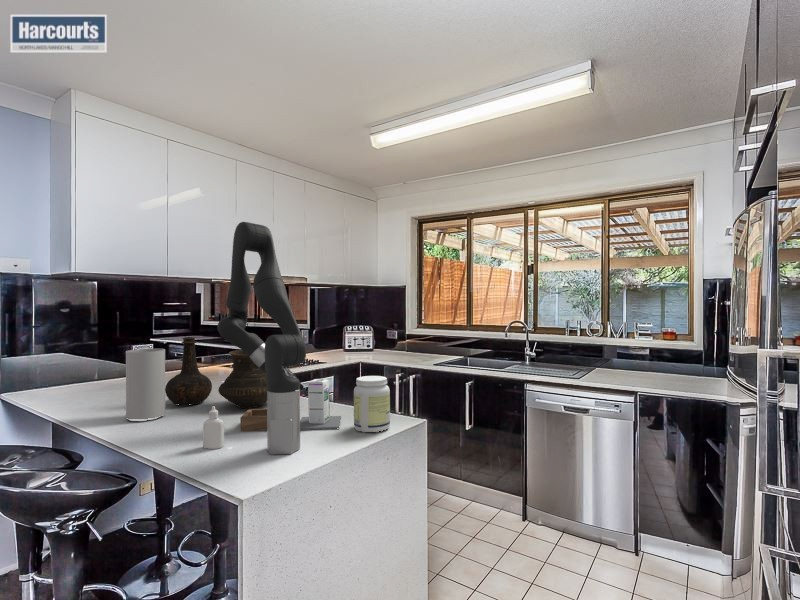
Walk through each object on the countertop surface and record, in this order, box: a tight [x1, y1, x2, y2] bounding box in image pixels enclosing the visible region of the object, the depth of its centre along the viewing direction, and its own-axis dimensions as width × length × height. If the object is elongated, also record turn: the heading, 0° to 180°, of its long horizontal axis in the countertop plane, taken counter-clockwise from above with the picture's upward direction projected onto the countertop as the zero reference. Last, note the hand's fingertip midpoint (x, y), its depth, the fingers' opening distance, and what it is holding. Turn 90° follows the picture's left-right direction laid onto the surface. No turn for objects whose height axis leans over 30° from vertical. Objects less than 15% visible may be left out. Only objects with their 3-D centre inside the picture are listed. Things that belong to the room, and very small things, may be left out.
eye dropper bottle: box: [202, 406, 225, 450], centre depth 127 cm, size 4×6×12 cm
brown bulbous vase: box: [165, 336, 213, 406], centre depth 182 cm, size 18×18×28 cm
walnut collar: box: [239, 408, 267, 432], centre depth 149 cm, size 11×11×4 cm
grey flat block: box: [300, 415, 342, 431], centre depth 151 cm, size 14×14×1 cm
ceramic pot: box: [218, 349, 267, 409], centre depth 178 cm, size 24×24×22 cm
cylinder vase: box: [125, 348, 166, 419], centre depth 160 cm, size 12×12×25 cm
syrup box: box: [307, 378, 331, 424], centre depth 151 cm, size 6×6×14 cm
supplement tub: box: [353, 375, 391, 433], centre depth 145 cm, size 12×12×17 cm
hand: (300, 391), depth 150 cm, fingers open, 8 cm apart
